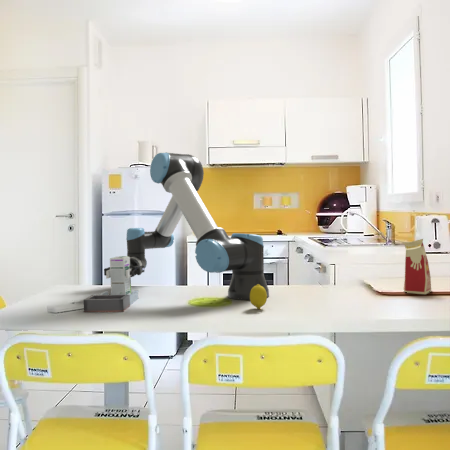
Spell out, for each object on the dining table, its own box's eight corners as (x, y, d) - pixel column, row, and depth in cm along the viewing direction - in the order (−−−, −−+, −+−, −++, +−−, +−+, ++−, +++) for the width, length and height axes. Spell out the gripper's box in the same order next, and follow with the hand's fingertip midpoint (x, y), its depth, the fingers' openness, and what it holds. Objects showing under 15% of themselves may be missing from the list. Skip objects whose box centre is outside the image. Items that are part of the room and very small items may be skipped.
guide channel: (105, 299, 183) (104, 290, 183) (138, 298, 182) (137, 290, 182) (93, 306, 169) (93, 297, 169) (129, 305, 168) (129, 297, 168)
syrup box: (125, 296, 180) (124, 257, 180) (110, 296, 181) (109, 257, 181) (131, 294, 186) (130, 256, 185) (116, 294, 187) (115, 256, 187)
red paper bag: (431, 290, 185) (430, 237, 185) (426, 294, 178) (426, 239, 177) (406, 289, 190) (405, 237, 190) (400, 292, 183) (400, 239, 182)
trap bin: (92, 306, 168) (92, 295, 168) (129, 306, 168) (129, 294, 168) (83, 312, 159) (83, 299, 159) (123, 311, 159) (123, 299, 159)
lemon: (262, 311, 155) (261, 286, 154) (246, 309, 158) (246, 284, 157) (270, 308, 159) (269, 283, 159) (255, 306, 162) (254, 282, 162)
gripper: (154, 275, 201) (143, 284, 178) (108, 276, 202) (90, 285, 179) (154, 257, 201) (143, 263, 178) (107, 258, 202) (90, 264, 178)
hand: (117, 274), depth 178 cm, fingers closed on syrup box, 6 cm apart
